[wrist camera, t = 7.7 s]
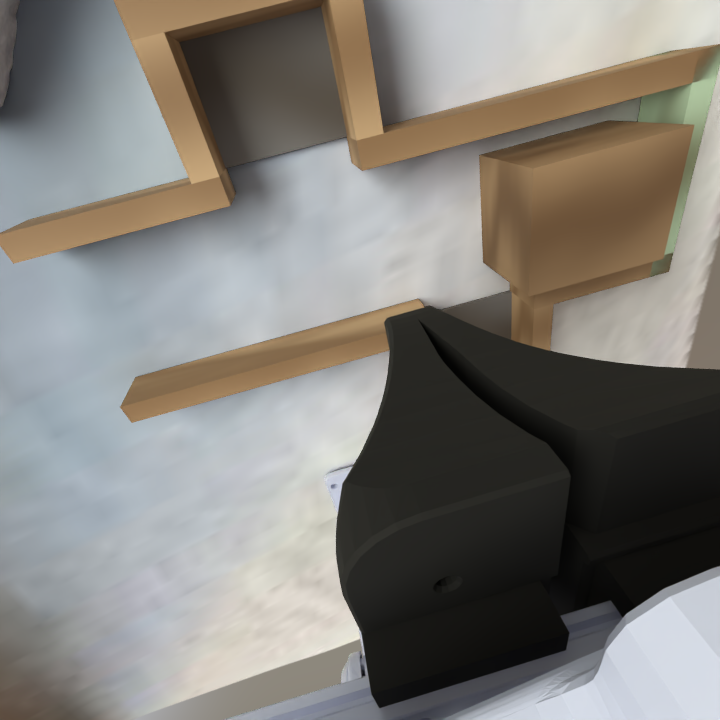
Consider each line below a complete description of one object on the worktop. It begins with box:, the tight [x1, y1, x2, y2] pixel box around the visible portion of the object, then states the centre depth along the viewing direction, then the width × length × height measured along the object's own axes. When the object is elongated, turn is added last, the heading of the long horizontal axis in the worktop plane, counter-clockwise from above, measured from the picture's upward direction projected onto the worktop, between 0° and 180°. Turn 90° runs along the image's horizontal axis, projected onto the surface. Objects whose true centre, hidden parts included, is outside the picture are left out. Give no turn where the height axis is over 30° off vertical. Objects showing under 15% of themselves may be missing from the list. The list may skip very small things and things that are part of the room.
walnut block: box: [479, 121, 694, 297], centre depth 17 cm, size 5×6×4 cm
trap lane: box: [0, 0, 720, 423], centre depth 17 cm, size 18×27×2 cm
